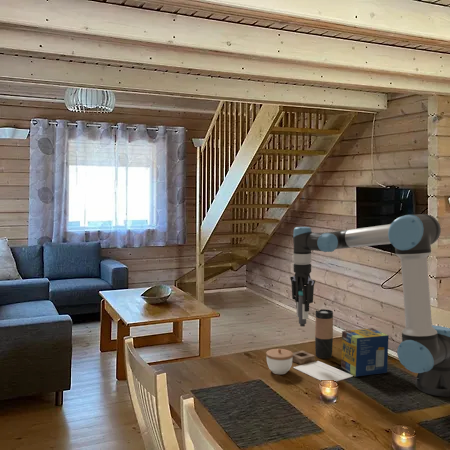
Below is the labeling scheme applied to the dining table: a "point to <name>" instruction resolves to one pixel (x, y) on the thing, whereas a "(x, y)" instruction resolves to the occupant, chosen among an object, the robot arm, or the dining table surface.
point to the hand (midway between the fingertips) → (302, 317)
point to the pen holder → (303, 357)
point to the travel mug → (324, 333)
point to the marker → (301, 301)
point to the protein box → (364, 352)
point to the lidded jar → (279, 360)
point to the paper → (323, 371)
